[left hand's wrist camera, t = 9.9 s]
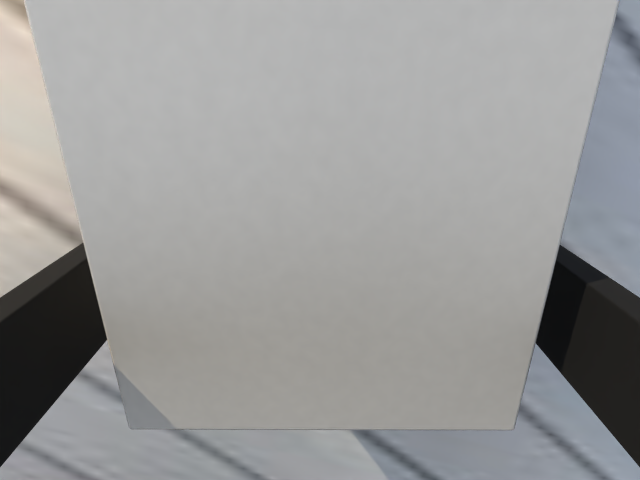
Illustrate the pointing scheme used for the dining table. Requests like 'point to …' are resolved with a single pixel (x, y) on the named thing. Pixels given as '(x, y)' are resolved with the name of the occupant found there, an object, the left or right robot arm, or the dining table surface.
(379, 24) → the grey rectangular block
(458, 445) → the dining table surface
